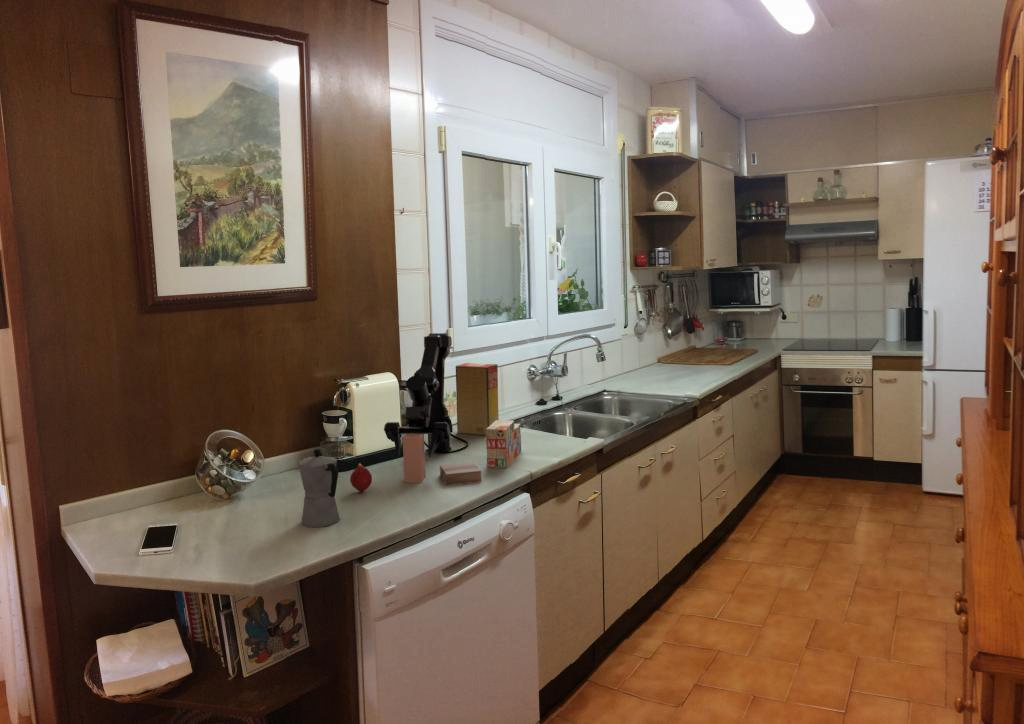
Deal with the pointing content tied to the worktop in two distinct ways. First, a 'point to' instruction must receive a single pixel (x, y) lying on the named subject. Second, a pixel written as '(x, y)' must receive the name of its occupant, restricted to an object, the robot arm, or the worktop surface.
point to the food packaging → (476, 397)
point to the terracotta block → (414, 458)
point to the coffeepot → (319, 490)
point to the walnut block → (460, 473)
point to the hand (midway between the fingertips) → (413, 455)
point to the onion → (361, 478)
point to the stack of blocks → (502, 443)
